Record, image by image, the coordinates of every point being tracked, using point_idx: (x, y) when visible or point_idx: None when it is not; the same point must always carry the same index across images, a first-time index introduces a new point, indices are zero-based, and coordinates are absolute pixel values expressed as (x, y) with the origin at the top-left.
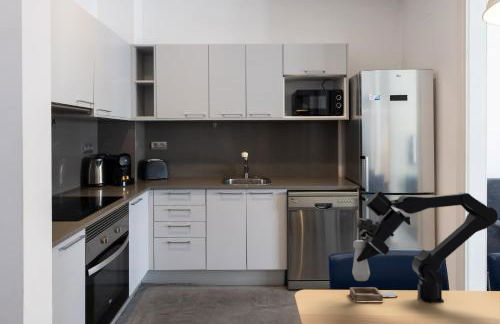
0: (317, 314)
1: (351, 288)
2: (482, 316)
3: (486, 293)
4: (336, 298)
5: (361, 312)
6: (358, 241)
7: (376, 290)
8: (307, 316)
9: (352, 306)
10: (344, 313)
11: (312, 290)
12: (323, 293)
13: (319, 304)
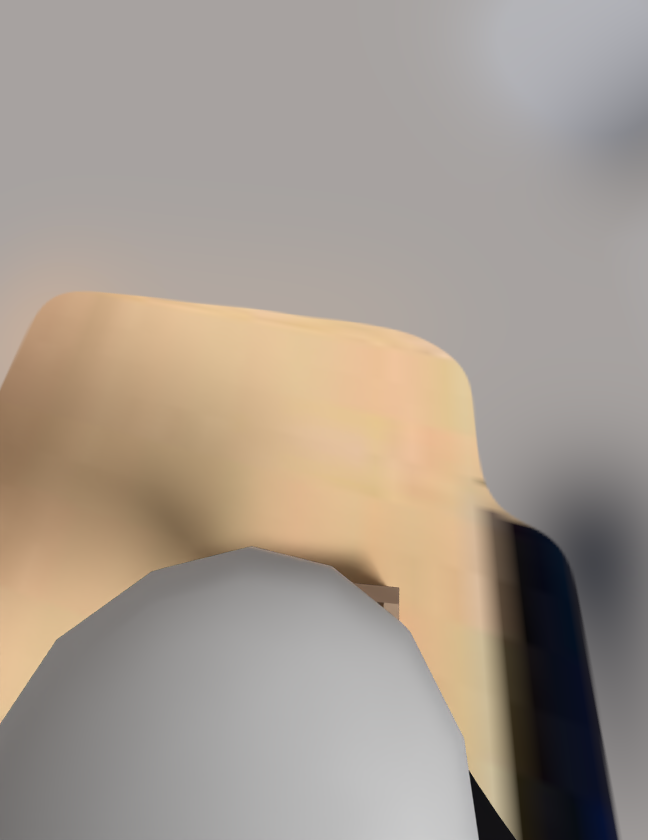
0: (89, 342)
1: (374, 593)
2: None
3: None
4: (311, 484)
5: (42, 556)
6: (72, 742)
7: None
8: (79, 302)
9: (156, 535)
10: (60, 460)
11: (456, 397)
12: (404, 439)
13: (225, 380)
